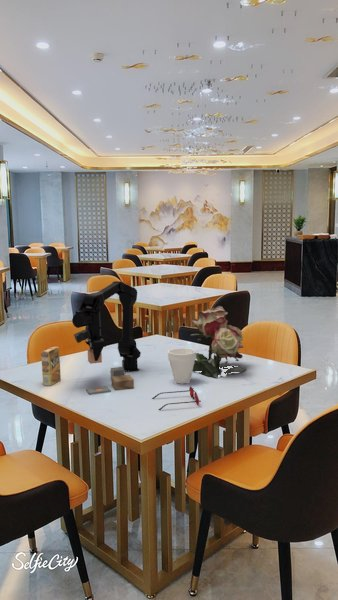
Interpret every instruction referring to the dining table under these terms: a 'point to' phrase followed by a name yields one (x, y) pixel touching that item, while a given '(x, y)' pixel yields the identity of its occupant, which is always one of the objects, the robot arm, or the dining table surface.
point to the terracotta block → (91, 357)
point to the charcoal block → (117, 371)
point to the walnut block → (122, 382)
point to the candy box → (50, 366)
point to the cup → (182, 363)
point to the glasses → (184, 391)
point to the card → (98, 390)
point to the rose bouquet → (217, 342)
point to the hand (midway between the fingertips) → (94, 359)
